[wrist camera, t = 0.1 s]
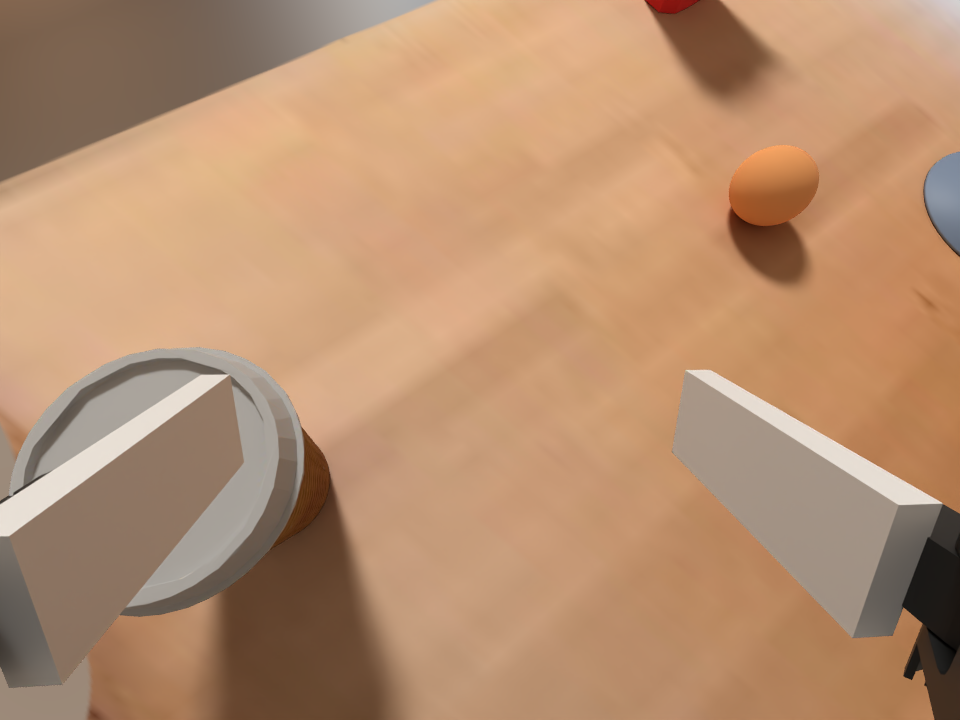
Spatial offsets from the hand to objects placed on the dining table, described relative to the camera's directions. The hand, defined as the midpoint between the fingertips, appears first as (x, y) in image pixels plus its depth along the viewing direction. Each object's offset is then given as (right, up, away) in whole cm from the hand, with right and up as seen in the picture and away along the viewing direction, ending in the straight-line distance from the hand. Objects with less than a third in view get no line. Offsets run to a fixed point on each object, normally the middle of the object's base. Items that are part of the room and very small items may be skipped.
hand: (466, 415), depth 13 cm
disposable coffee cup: (-12, -6, +14) cm, 19 cm away
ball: (+22, +14, +20) cm, 33 cm away
